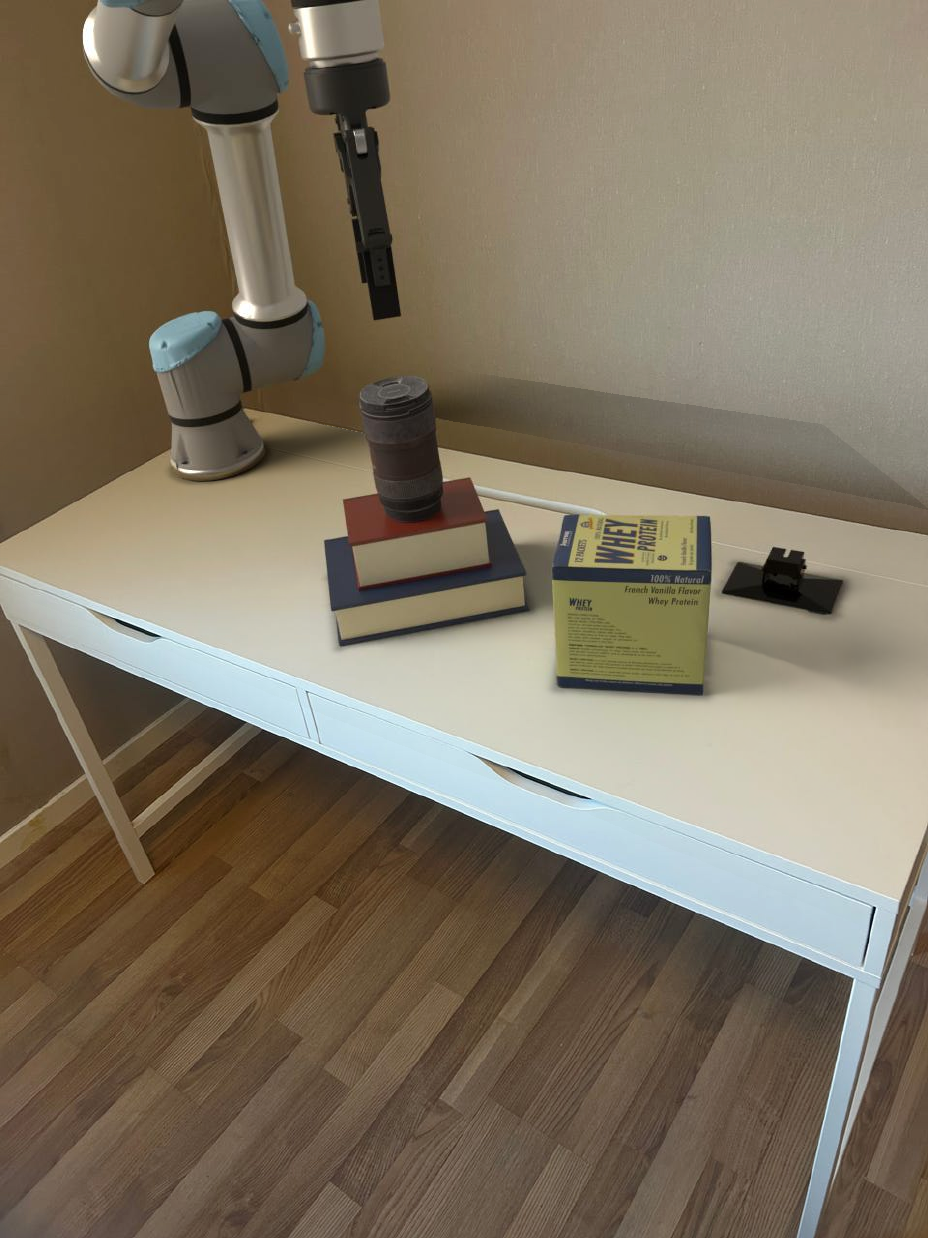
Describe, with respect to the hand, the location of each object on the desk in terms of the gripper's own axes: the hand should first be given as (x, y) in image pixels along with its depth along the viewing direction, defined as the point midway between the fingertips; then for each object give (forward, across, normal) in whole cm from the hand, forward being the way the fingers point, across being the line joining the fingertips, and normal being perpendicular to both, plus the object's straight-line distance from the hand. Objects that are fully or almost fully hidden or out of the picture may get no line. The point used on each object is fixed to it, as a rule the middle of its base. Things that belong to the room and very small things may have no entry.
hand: (380, 298), depth 96 cm
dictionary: (+31, 0, 0) cm, 31 cm away
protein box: (+37, +21, +20) cm, 47 cm away
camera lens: (+25, 0, 0) cm, 25 cm away
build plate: (+37, +13, +41) cm, 57 cm away
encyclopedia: (+37, 0, 0) cm, 37 cm away
